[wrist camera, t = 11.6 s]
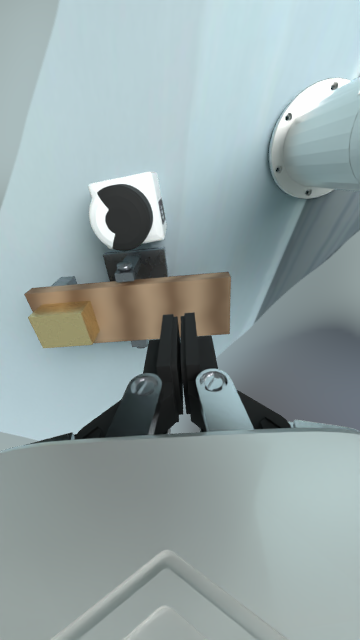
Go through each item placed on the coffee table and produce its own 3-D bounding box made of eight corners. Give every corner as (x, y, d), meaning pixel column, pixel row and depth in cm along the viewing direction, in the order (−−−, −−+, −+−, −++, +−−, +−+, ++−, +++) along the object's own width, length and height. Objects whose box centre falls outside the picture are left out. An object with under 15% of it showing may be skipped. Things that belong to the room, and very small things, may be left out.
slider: (90, 300, 33) (80, 313, 30) (100, 330, 36) (92, 344, 33) (41, 304, 33) (27, 317, 30) (54, 333, 36) (43, 348, 33)
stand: (164, 244, 39) (160, 263, 31) (173, 317, 46) (171, 348, 38) (52, 255, 40) (20, 276, 32) (78, 324, 47) (57, 356, 39)
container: (156, 171, 34) (145, 170, 22) (167, 228, 38) (162, 251, 26) (104, 182, 34) (67, 186, 23) (120, 237, 38) (95, 263, 27)
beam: (228, 271, 33) (230, 277, 31) (227, 326, 37) (229, 333, 36) (32, 288, 34) (24, 294, 33) (55, 338, 39) (49, 346, 37)
